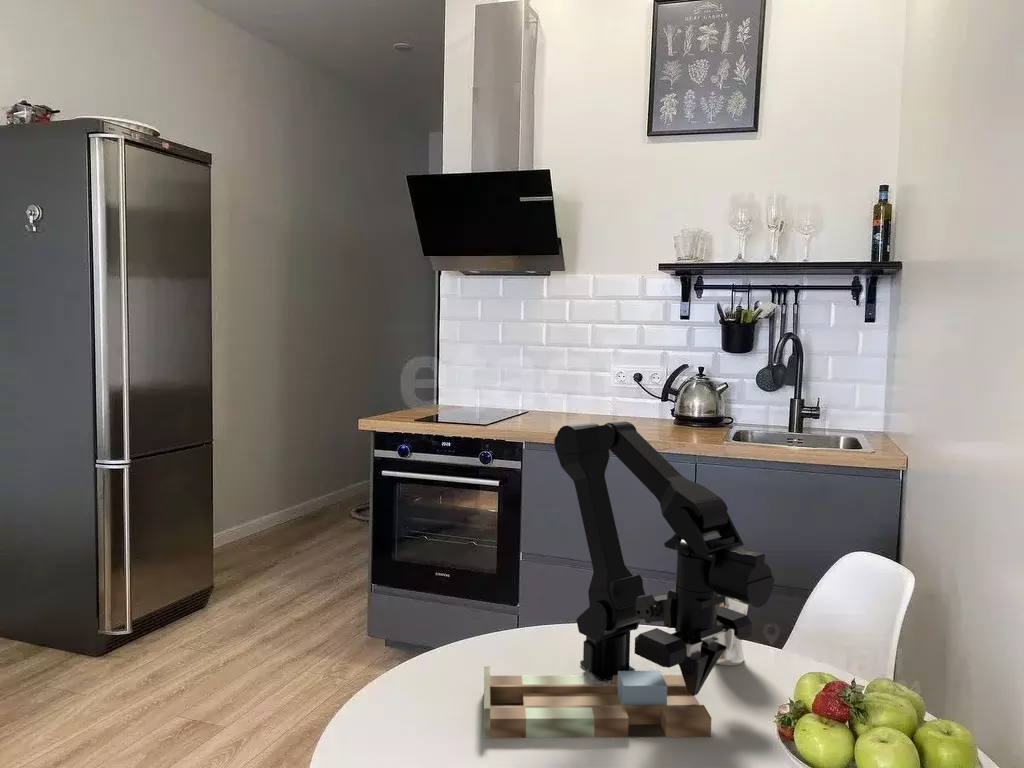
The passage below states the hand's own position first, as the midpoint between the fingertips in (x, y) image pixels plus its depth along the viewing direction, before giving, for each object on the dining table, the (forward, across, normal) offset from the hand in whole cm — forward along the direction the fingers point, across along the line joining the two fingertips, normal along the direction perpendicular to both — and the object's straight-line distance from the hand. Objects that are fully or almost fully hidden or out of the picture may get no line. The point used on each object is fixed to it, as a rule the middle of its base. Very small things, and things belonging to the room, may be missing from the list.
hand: (692, 694), depth 107 cm
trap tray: (+3, +12, -8) cm, 14 cm away
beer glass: (+3, -19, -9) cm, 21 cm away
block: (+1, +6, -4) cm, 7 cm away
